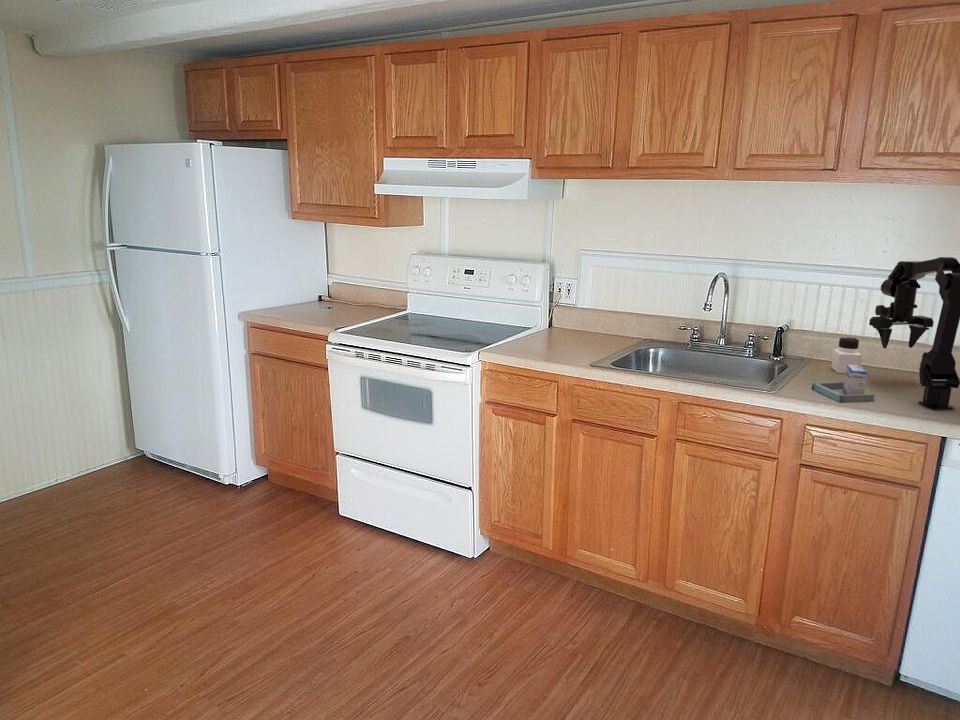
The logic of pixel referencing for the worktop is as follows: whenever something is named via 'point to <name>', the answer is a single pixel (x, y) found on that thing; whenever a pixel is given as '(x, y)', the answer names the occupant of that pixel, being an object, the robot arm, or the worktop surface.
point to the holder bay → (825, 389)
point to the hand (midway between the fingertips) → (897, 347)
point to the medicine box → (855, 380)
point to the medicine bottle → (846, 354)
